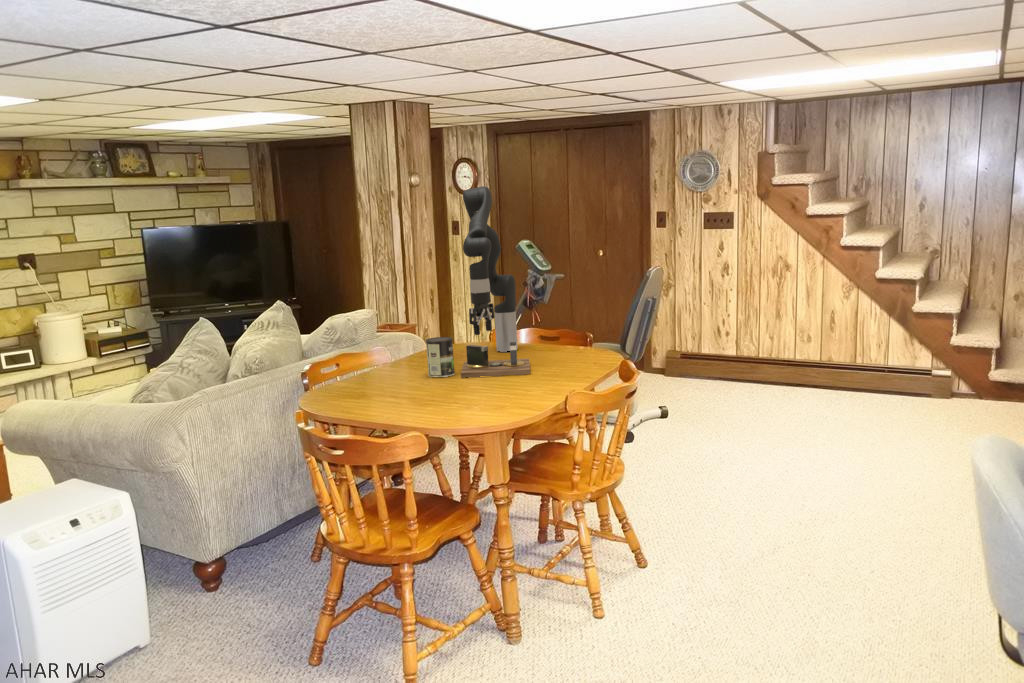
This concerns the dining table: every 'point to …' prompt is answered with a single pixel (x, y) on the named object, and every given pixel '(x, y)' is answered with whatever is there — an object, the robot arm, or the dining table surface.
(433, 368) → the coffee can
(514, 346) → the knob
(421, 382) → the dining table surface
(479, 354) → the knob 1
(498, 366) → the base plate
